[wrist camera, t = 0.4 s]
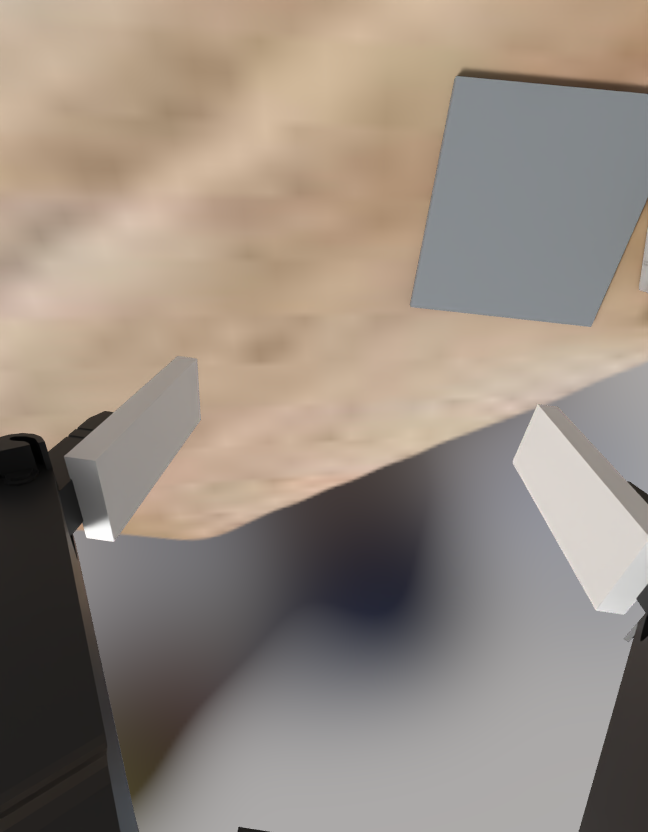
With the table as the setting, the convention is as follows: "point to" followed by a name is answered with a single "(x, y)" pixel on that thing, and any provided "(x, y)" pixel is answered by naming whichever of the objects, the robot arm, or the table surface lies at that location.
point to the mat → (532, 200)
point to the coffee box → (644, 269)
